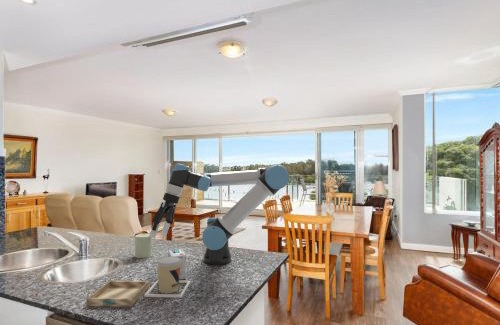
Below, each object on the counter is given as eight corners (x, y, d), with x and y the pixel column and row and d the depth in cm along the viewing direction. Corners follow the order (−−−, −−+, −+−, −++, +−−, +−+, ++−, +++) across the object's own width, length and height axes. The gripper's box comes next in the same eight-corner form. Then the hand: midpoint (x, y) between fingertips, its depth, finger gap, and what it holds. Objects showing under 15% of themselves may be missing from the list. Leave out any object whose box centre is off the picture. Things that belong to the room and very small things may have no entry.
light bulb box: (167, 272, 136) (167, 250, 136) (181, 270, 138) (182, 248, 138) (170, 281, 126) (171, 256, 126) (185, 278, 128) (186, 254, 129)
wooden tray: (148, 287, 118) (148, 281, 118) (131, 307, 101) (131, 299, 102) (109, 286, 119) (109, 280, 119) (85, 306, 102) (85, 299, 102)
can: (152, 252, 167) (152, 232, 168) (151, 257, 159) (152, 235, 159) (135, 254, 164) (135, 233, 165) (134, 258, 156) (134, 236, 156)
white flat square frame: (190, 282, 124) (190, 280, 124) (181, 297, 109) (181, 295, 109) (157, 281, 124) (157, 280, 124) (144, 296, 110) (144, 294, 110)
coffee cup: (174, 295, 111) (174, 264, 112) (152, 293, 113) (152, 262, 114) (184, 285, 121) (184, 257, 121) (163, 283, 122) (164, 255, 123)
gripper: (174, 194, 153) (161, 232, 150) (155, 189, 129) (138, 235, 125) (187, 198, 152) (174, 237, 149) (170, 194, 128) (154, 240, 124)
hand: (157, 236), depth 137 cm, fingers open, 13 cm apart
